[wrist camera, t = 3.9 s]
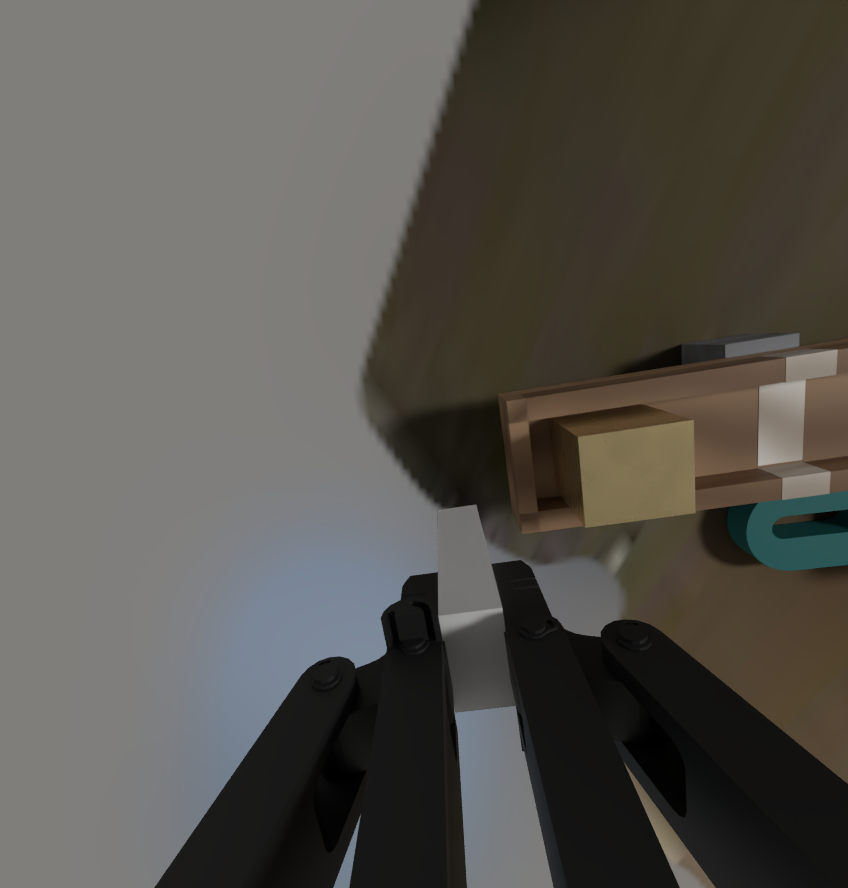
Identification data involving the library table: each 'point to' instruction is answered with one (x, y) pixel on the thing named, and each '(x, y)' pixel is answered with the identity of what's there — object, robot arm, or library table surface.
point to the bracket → (793, 532)
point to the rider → (624, 464)
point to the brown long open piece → (703, 423)
